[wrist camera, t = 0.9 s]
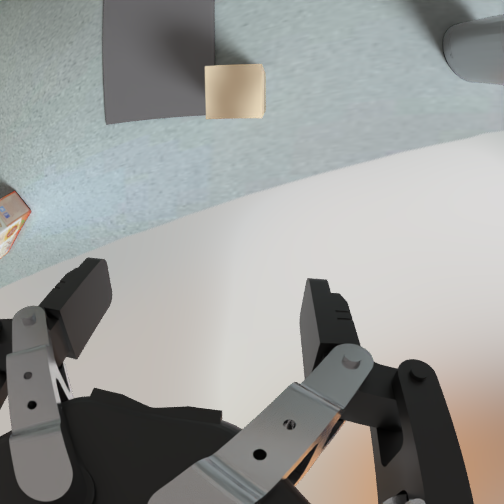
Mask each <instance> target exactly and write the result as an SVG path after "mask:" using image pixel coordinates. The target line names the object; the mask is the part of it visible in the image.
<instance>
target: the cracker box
mask: <svg viewBox="0 0 504 504" xmlns="http://www.w3.org/2000/svg"><path fill="white" fill-rule="evenodd" d="M30 213H31V210H30V209H29V208H28V207H27V205H26V204H25V203H24V202H23V200H22V199H21V198H20V197H19V195H18V194H17V193H16V191H13V192H12V193H10V194H8V195H6V196H4V197H3V198H1V199H0V259H1V258H2V257H3V256H4V255H5V254H7V253H8V252H9V250H10V248H11V246H12V245H13V243H14V241H15V239H16V237H17V235H18V233H19V232H20V230H21V228H22V226H23V225H24V223H25V221H26V219H27V218H28V216H29V214H30Z"/></svg>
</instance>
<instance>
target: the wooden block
mask: <svg viewBox="0 0 504 504" xmlns="http://www.w3.org/2000/svg"><path fill="white" fill-rule="evenodd" d="M205 100H206V119H225V118H262V117H263V115H264V113H265V110H266V76H265V71H264V68H263V66H262V64H237V65H215V66H205Z"/></svg>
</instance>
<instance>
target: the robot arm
mask: <svg viewBox="0 0 504 504" xmlns="http://www.w3.org/2000/svg"><path fill="white" fill-rule="evenodd" d="M443 49H444V54H445V58H446V60H447V62H448V64H449V66H450V67H451V69H452V70H453V71H454V72H455V73H456V74H457V75H458V76H459V77H460V78H462V79H464V80H466V81H469V82H476V83H487V84H498V85H504V14H503V15H498V16H492V17H487V18H482V19H478V20H473V21H468V22H464V23H460V24H456V25H453V26H451V27H450V28H449V29H448V30H447V32H446V33H445V36H444V39H443ZM111 300H112V289H111V284H110V278H109V272H108V266H107V262H106V261H105V260H104V259H97V258H87V259H85V261H84V262H83V263H82V264H81V265H80V266H79V267H78V268H75V269H74V270H72V271H70V272H69V273H67V274H66V275H65V276H64V277H63V278H62V279H61V280H60V282H59V283H58V284H57V285H56V286H55V288H53V289H52V291H51V292H50V293H49V294H48V295H47V296H46V298H45V299H44V300H43V301H42V302H41V303H40V305H39V306H29V307H25V308H23V309H21V310H20V311H18V312H17V313H16V314H15V315H14V317H13V319H0V409H1V407H2V405H3V403H4V401H5V399H6V397H7V396H8V400H9V409H10V419H11V426H12V430H11V431H10V432H8V433H6V434H4V435H2V436H0V504H310V503H309V502H308V500H307V499H306V498H305V497H304V496H303V495H302V494H301V493H300V492H299V491H298V490H297V488H296V487H295V486H296V485H297V483H298V482H299V481H300V480H301V479H302V478H303V477H304V476H305V474H306V473H307V472H308V471H309V469H310V468H311V467H312V465H313V464H314V462H315V461H316V460H317V458H318V457H319V456H320V454H321V453H322V451H323V450H324V449H325V448H326V447H327V445H328V444H329V443H330V441H331V440H332V439H333V438H334V436H335V435H336V434H337V432H338V431H339V430H340V428H341V427H342V425H343V424H344V423H345V422H346V421H351V422H354V423H358V424H362V425H367V426H370V431H371V438H372V445H373V453H374V463H375V472H376V481H377V492H378V504H474V503H473V498H472V493H471V489H470V484H469V480H468V476H467V472H466V468H465V464H464V461H463V456H462V453H461V449H460V446H459V442H458V439H457V436H456V432H455V429H454V426H453V422H452V419H451V416H450V413H449V410H448V407H447V404H446V401H445V398H444V395H443V392H442V389H441V387H440V384H439V381H438V379H437V376H436V374H435V371H434V370H433V369H432V368H431V367H430V366H429V365H428V364H426V363H424V362H422V361H420V360H414V359H411V360H406V361H404V362H402V363H401V364H400V365H399V367H398V369H396V368H392V367H388V366H384V365H380V364H377V363H375V362H374V361H373V358H372V356H371V354H370V353H369V352H368V351H367V350H366V349H364V348H362V347H361V346H360V343H359V339H358V336H357V332H356V329H355V326H354V323H353V320H352V316H351V314H350V310H349V306H348V303H347V302H346V301H345V299H344V298H343V297H342V296H341V295H340V294H338V293H331V292H330V288H329V285H328V281H327V280H324V279H310V278H308V279H307V282H306V286H305V292H304V297H303V302H302V308H301V313H300V333H301V344H302V354H303V364H304V375H305V380H304V381H303V382H302V383H301V384H298V383H297V382H294V383H292V384H291V385H290V386H288V387H287V389H285V390H284V391H283V392H282V393H281V394H280V395H279V396H278V397H277V398H276V399H275V400H274V401H273V402H272V403H271V404H270V405H269V406H268V407H267V408H266V409H264V410H263V411H262V412H261V413H260V414H259V415H258V416H257V417H256V418H255V419H254V420H252V421H251V422H250V423H249V424H248V425H247V426H246V427H245V428H244V429H241V428H239V427H237V426H235V425H233V424H230V423H228V422H225V421H223V420H222V411H220V410H212V409H203V408H196V407H189V406H187V407H167V408H152V407H149V406H146V405H144V404H142V403H140V402H137V401H135V400H133V399H131V398H128V397H127V396H125V395H123V394H118V393H113V392H110V391H105V390H101V389H97V388H94V389H93V391H92V393H91V396H88V397H79V398H74V397H73V393H72V389H71V385H70V382H69V378H68V374H67V369H66V366H65V363H64V359H65V358H66V357H70V358H74V359H78V357H79V355H80V353H81V352H82V350H83V349H84V347H85V345H86V343H87V342H88V340H89V339H90V337H91V335H92V333H93V332H94V330H95V329H96V327H97V325H98V324H99V322H100V320H101V319H102V317H103V316H104V314H105V313H106V311H107V309H108V308H109V306H110V304H111Z"/></svg>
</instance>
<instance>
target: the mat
mask: <svg viewBox="0 0 504 504" xmlns="http://www.w3.org/2000/svg"><path fill="white" fill-rule="evenodd" d="M205 66H215V29H214V0H104V10H103V76H104V97H105V112H106V125H108V124H115V123H122V122H130V121H139V120H148V119H158V118H170V117H183V116H199V115H206V100H205Z"/></svg>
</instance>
